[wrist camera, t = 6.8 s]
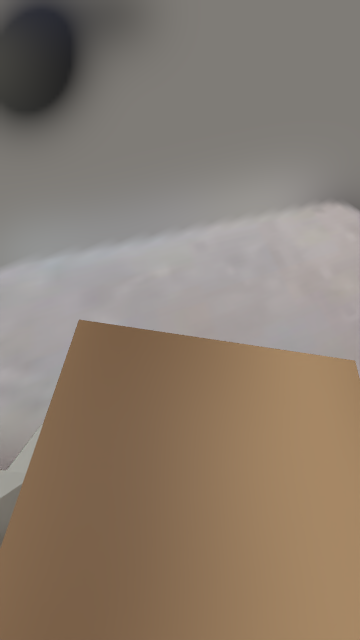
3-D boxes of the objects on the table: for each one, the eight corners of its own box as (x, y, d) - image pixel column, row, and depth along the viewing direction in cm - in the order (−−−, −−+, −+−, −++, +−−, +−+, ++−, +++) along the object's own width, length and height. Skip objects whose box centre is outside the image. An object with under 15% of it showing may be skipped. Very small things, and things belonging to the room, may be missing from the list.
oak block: (215, 418, 13) (354, 360, 4) (212, 537, 11) (495, 918, 2) (124, 406, 13) (79, 320, 4) (99, 526, 11) (-129, 920, 2)
